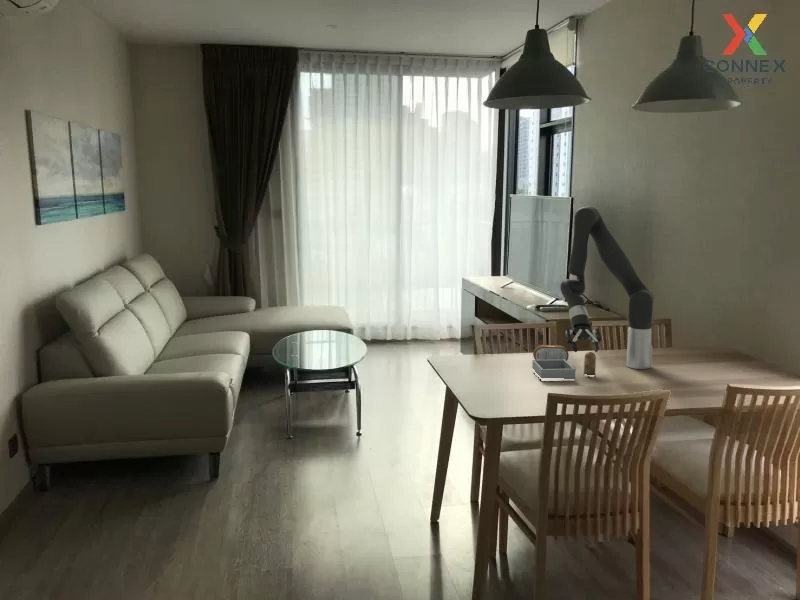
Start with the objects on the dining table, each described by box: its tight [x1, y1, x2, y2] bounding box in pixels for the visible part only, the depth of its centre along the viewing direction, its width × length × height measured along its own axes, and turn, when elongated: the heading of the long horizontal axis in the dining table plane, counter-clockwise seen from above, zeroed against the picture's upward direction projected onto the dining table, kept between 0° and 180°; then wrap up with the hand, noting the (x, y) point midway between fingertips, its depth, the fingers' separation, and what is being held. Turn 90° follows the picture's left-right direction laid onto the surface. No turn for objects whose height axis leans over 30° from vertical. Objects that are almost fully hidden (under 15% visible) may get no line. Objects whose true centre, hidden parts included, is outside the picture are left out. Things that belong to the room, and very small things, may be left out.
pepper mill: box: [583, 351, 597, 376], centre depth 258 cm, size 4×4×10 cm
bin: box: [531, 359, 576, 380], centre depth 258 cm, size 14×15×5 cm
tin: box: [532, 344, 570, 362], centre depth 276 cm, size 15×3×8 cm, turn 84°
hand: (586, 351), depth 262 cm, fingers open, 8 cm apart
